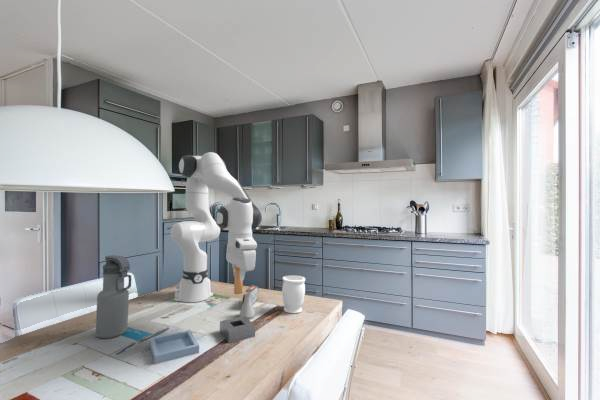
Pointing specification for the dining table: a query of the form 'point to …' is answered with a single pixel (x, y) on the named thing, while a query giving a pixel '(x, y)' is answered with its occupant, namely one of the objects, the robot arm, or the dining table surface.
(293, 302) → the jar
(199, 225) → the robot arm
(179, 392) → the dining table surface
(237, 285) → the wooden peg
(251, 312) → the flask
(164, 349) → the tray
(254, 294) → the tin
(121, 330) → the water bottle
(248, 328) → the metal block with hole
